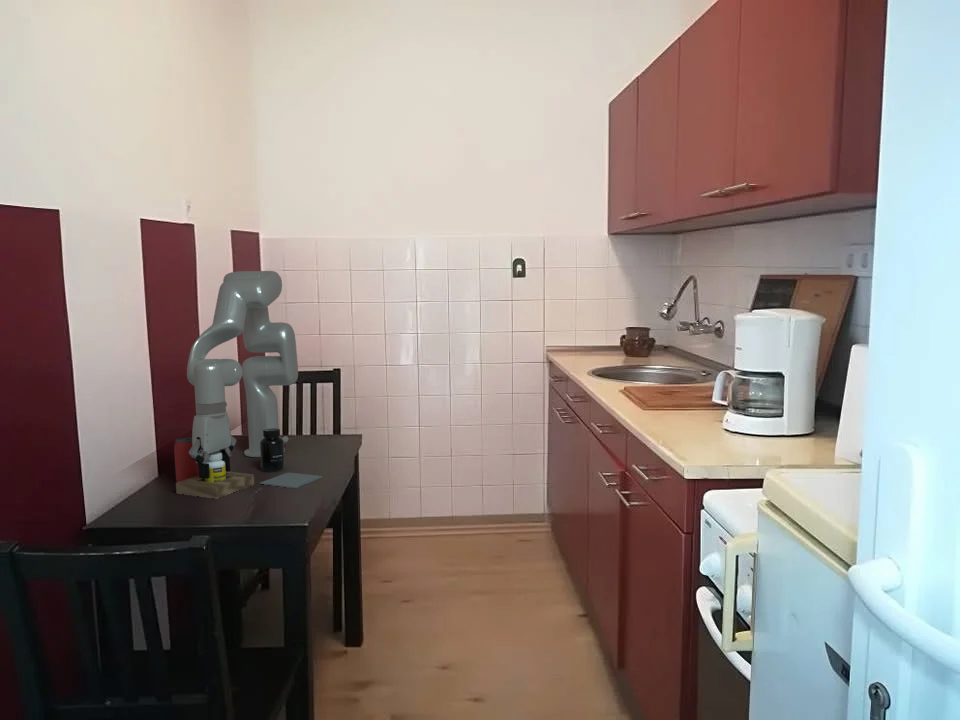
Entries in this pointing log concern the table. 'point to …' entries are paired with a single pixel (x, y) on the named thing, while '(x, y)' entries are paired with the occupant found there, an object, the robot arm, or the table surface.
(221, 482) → the holder
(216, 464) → the supplement bottle
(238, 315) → the robot arm
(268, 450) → the supplement bottle
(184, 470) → the beer can
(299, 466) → the table surface
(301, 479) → the mat
